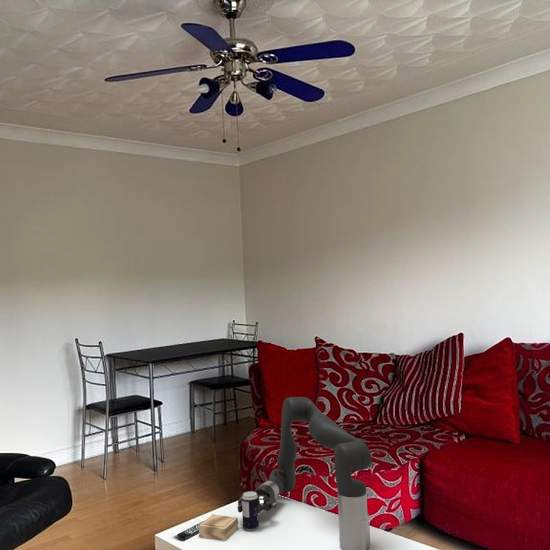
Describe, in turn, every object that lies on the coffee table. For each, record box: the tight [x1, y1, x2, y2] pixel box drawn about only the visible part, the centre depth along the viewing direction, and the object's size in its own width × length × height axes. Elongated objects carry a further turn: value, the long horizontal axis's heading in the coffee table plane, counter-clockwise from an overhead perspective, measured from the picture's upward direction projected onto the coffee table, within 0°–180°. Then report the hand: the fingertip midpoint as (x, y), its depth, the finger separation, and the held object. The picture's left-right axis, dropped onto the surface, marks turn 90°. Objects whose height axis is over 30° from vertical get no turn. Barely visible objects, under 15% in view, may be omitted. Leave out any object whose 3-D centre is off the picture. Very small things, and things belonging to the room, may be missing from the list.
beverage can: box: [241, 491, 260, 532], centre depth 201 cm, size 6×6×12 cm
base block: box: [198, 514, 239, 542], centre depth 198 cm, size 10×10×4 cm
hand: (247, 510), depth 199 cm, fingers closed on beverage can, 5 cm apart
